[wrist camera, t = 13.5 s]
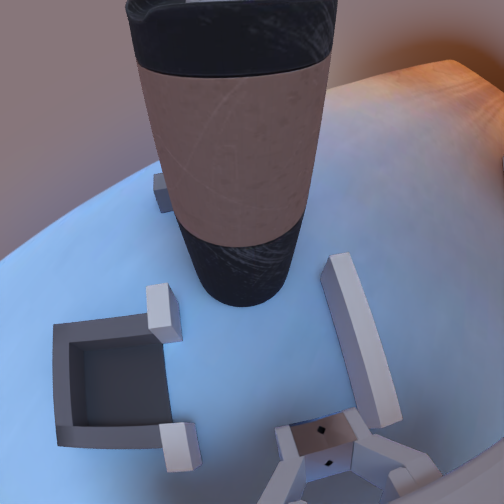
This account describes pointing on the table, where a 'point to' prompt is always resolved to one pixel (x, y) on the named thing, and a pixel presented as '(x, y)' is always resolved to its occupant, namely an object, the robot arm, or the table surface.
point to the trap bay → (109, 384)
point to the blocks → (351, 341)
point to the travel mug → (236, 128)
